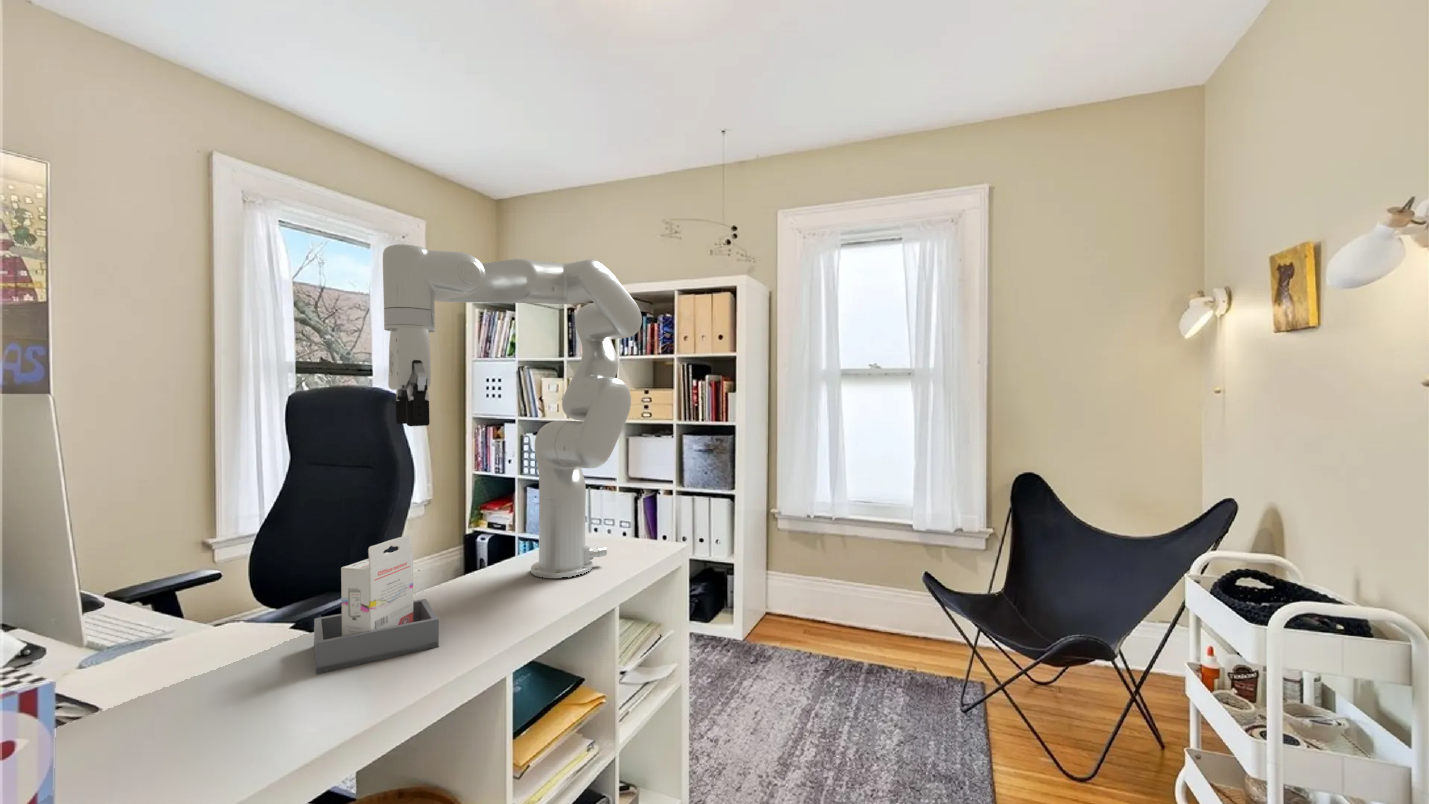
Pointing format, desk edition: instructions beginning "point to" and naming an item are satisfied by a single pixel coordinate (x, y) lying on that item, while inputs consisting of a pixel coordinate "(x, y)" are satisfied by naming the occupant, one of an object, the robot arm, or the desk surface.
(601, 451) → the robot arm
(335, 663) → the box
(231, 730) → the desk surface
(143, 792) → the desk surface
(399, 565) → the ink cartridge box
